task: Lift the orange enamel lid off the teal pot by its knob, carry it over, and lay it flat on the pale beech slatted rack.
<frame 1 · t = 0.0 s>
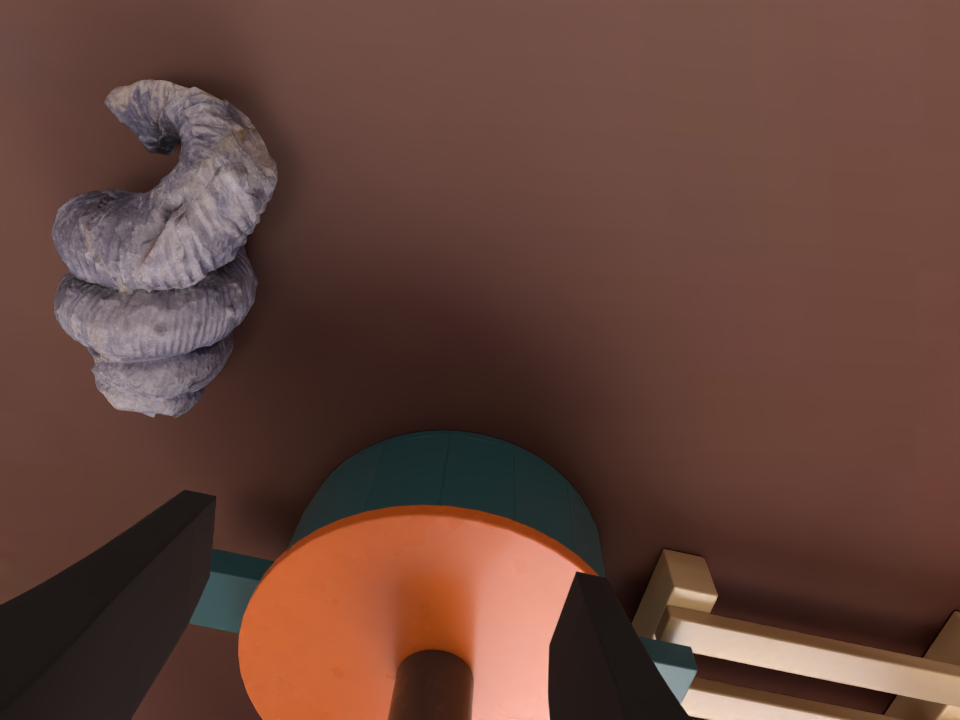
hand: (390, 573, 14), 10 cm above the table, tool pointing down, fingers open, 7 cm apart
pot: (449, 558, 26), on the table
lid: (436, 664, 22), point 5 cm above the table, touching pot
seashell: (202, 244, 22), on the table
rack: (753, 718, 29), on the table
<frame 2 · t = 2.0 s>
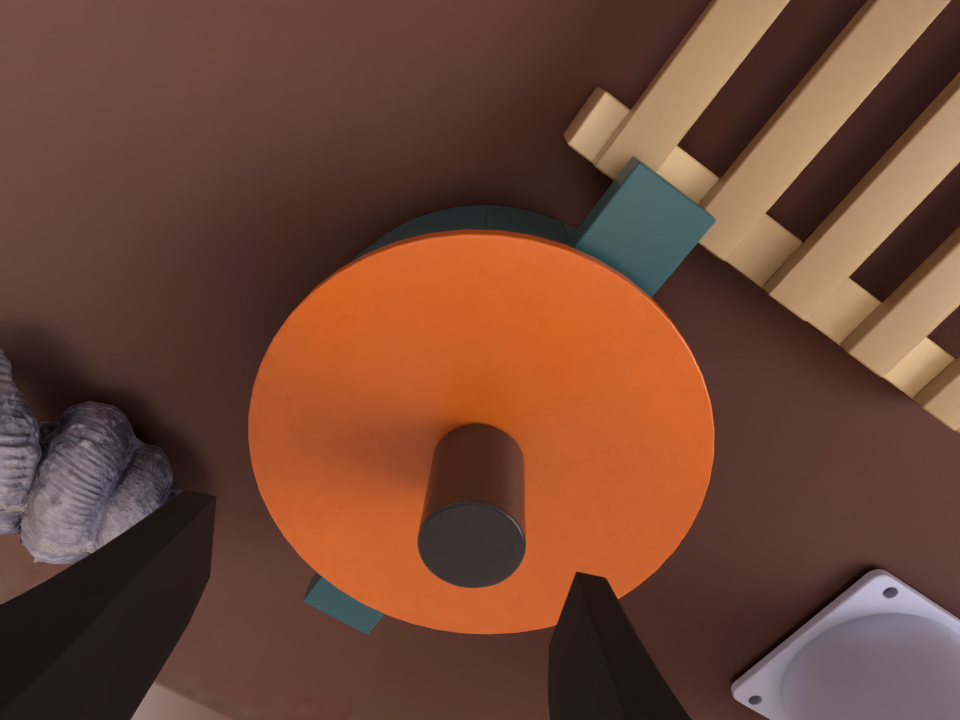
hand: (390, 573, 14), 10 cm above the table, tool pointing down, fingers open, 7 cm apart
pot: (485, 372, 23), on the table
lid: (479, 452, 19), point 5 cm above the table, touching pot
seashell: (98, 429, 25), on the table
rack: (925, 93, 19), on the table
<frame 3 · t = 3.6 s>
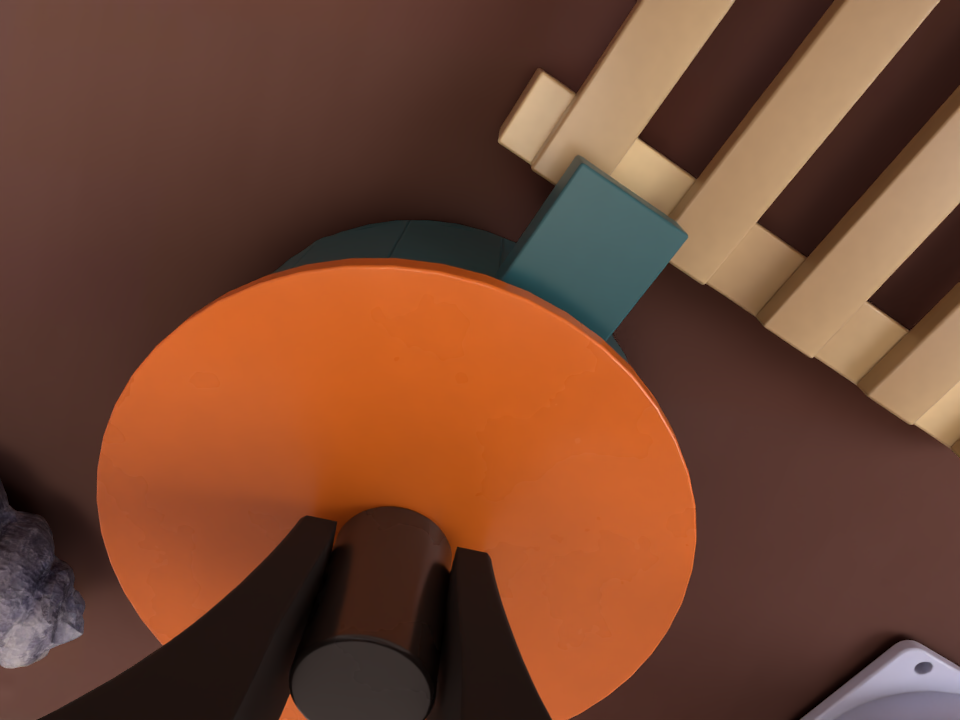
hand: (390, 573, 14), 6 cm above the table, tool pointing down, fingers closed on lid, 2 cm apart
pot: (424, 421, 19), on the table
lid: (397, 536, 15), point 5 cm above the table, touching gripper, pot
rack: (958, 63, 15), on the table
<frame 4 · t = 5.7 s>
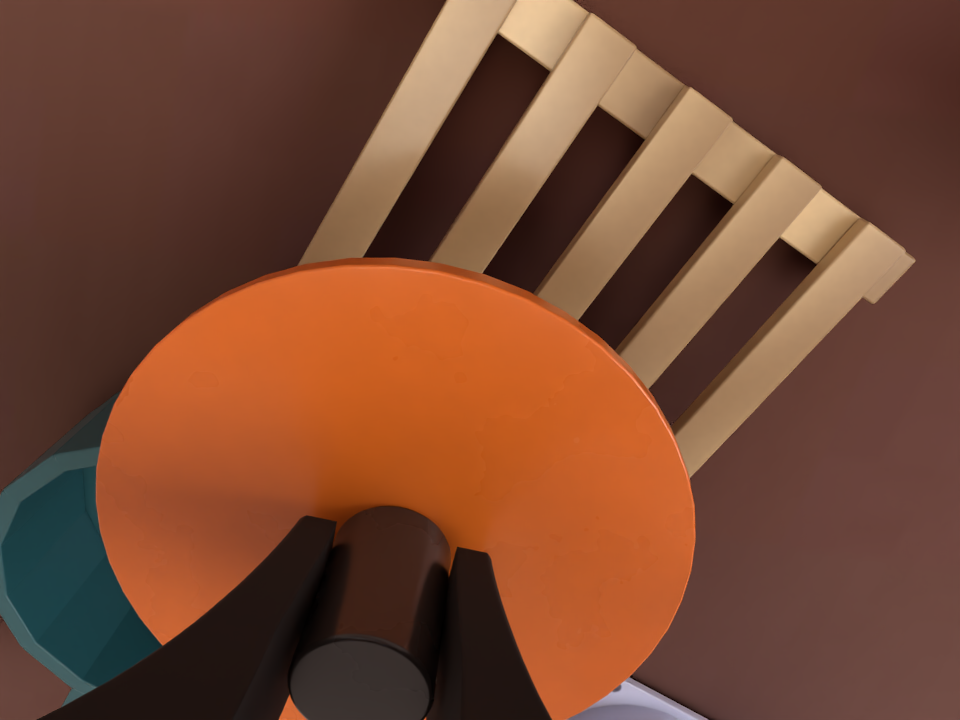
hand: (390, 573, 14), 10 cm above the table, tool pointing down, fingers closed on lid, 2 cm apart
pot: (224, 505, 26), on the table
lid: (396, 536, 15), point 9 cm above the table, touching gripper
rack: (552, 279, 22), on the table
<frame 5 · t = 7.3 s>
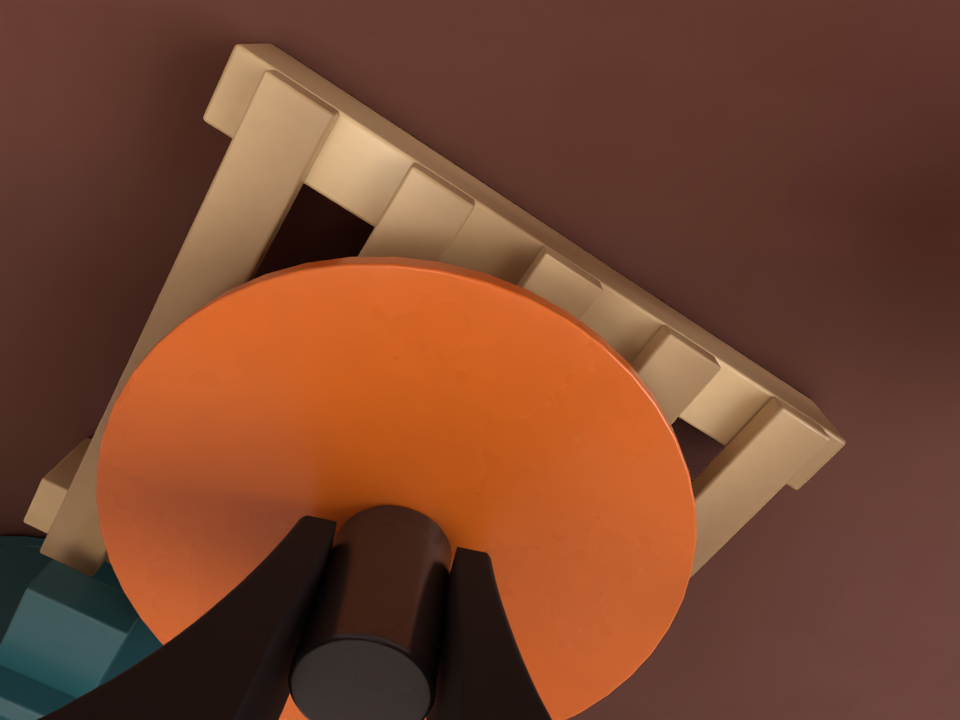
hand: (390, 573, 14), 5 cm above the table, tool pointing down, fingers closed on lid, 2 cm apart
pot: (67, 675, 23), on the table
lid: (397, 535, 15), point 4 cm above the table, touching gripper
rack: (420, 441, 18), on the table
when the fingers open (4 cm above the table, at t = 7.8 s): lid stays where it is, resting on rack.
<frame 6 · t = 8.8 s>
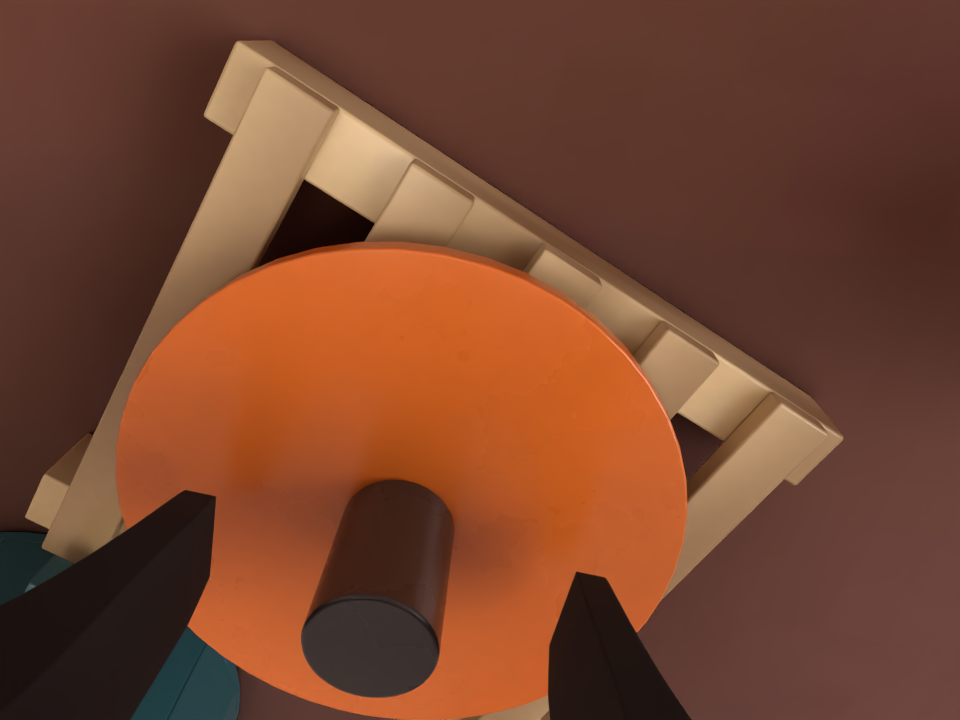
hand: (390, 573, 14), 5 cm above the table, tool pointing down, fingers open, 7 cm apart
pot: (68, 670, 23), on the table
lid: (402, 510, 16), point 3 cm above the table, touching rack
rack: (420, 437, 18), on the table
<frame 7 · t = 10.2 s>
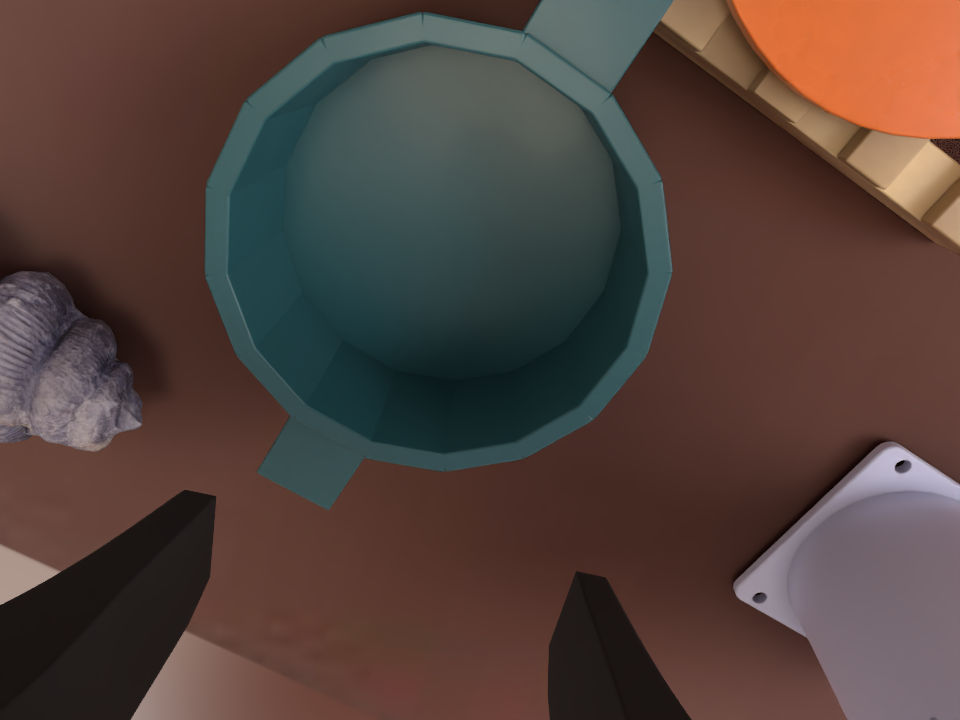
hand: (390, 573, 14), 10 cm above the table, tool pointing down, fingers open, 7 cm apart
pot: (451, 225, 21), on the table
seashell: (40, 309, 23), on the table
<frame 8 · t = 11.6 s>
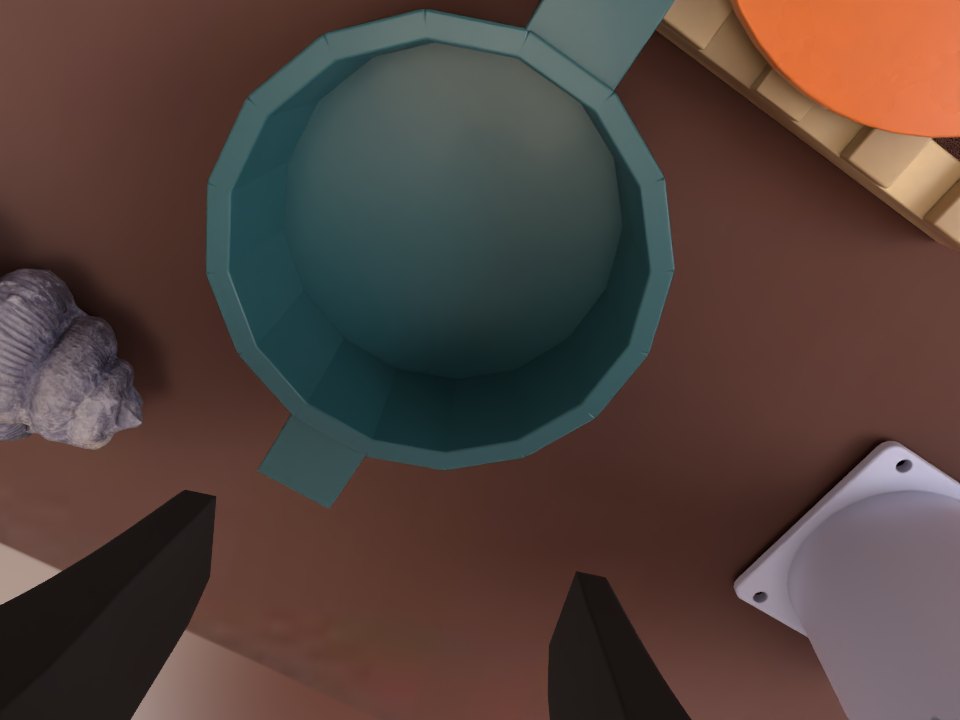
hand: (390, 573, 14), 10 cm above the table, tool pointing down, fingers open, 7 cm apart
pot: (452, 223, 21), on the table
seashell: (40, 307, 23), on the table
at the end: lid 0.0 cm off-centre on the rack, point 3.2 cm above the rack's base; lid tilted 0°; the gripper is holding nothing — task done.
